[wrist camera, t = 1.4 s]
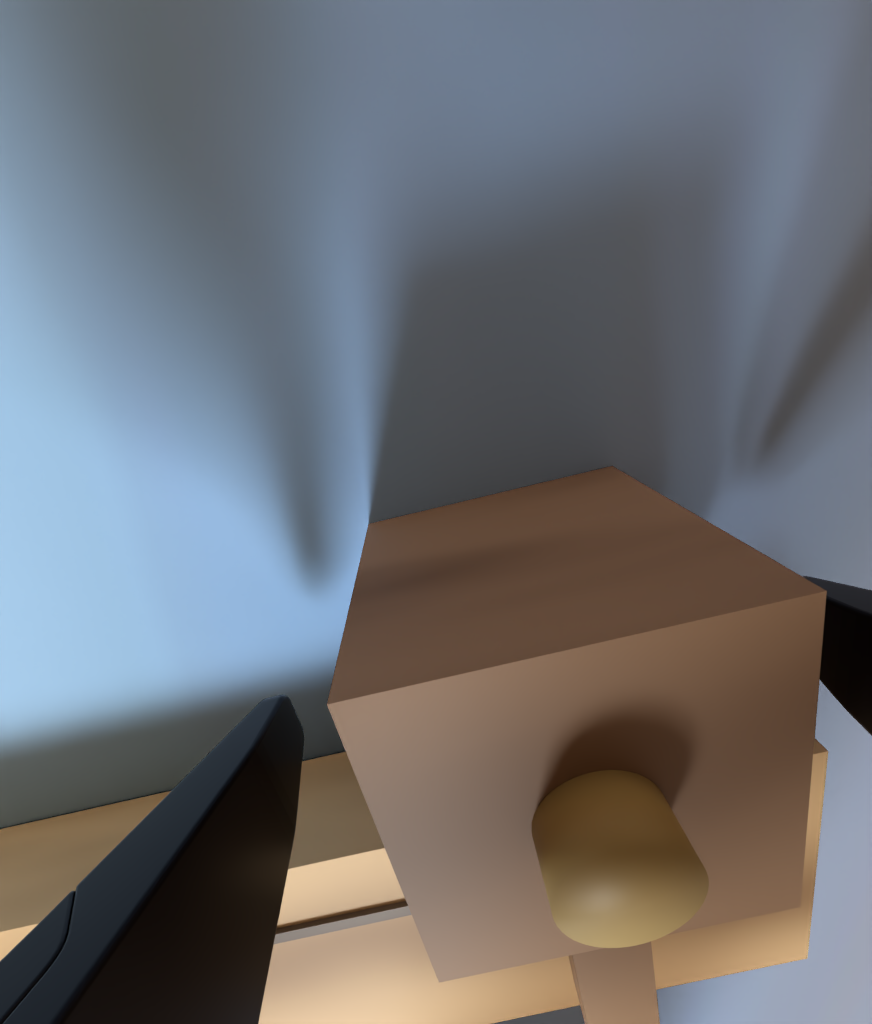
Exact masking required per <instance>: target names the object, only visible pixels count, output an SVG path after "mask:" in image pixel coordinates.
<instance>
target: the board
mask: <svg viewBox="0 0 872 1024" xmlns="http://www.w3.org/2000/svg"><path fill="white" fill-rule="evenodd" d="M827 758H828V751H827V750H826V749H825V748H824V747H823V746H822V745H821V744H820V743H819V742H818V741H817V740H816V739H815V738H814V750H813V762H812V774H811V786H810V798H809V810H808V822H807V834H806V846H805V858H804V870H803V882H802V894H801V906H800V907H799V908H794V909H790V910H785V911H780V912H775V913H771V914H766V915H761V916H756V917H751V918H747V919H742V920H737V921H732V922H727V923H723V924H718V925H713V926H708V927H703V928H699V929H694V930H689V931H684V932H679V933H675V934H670V935H665V936H663V937H661V938H659V939H656V940H653V941H651V947H652V956H653V965H654V975H655V984H656V990H657V989H661V988H666V987H671V986H676V985H681V984H686V983H690V982H695V981H700V980H705V979H710V978H715V977H719V976H724V975H729V974H734V973H739V972H744V971H748V970H753V969H758V968H763V967H768V966H773V965H778V964H782V963H787V962H792V961H797V960H802V959H807V956H808V946H809V936H810V926H811V917H812V907H813V897H814V887H815V877H816V867H817V857H818V847H819V837H820V827H821V817H822V807H823V797H824V788H825V778H826V768H827ZM170 792H171V791H168V792H164V793H159V794H155V795H150V796H146V797H141V798H137V799H132V800H128V801H123V802H119V803H115V804H110V805H106V806H101V807H97V808H92V809H88V810H83V811H79V812H74V813H70V814H66V815H61V816H57V817H52V818H48V819H43V820H39V821H34V822H30V823H25V824H21V825H17V826H12V827H8V828H3V829H0V961H1V960H2V959H3V958H4V957H5V956H6V955H7V954H8V953H9V952H10V951H11V950H12V949H13V948H14V947H15V946H16V945H17V944H18V943H19V942H20V941H21V940H22V939H23V938H24V937H25V936H26V935H27V934H28V933H29V932H31V931H32V930H33V929H34V928H35V927H36V926H37V925H38V924H39V923H40V922H41V921H42V920H43V919H44V918H45V917H46V916H47V915H48V914H49V913H50V912H51V911H52V910H53V909H54V908H55V907H56V906H57V905H58V904H59V903H60V902H61V901H62V900H63V899H64V898H65V897H66V896H67V895H68V894H69V893H70V892H71V891H76V887H77V885H78V884H79V883H80V882H81V881H82V880H83V879H84V878H85V877H86V876H87V875H88V874H89V873H90V872H91V871H92V870H93V869H94V868H95V867H96V866H97V865H98V864H99V863H100V862H101V861H102V860H103V859H104V858H105V857H106V856H107V855H108V854H109V853H110V852H111V851H112V850H113V849H114V848H115V847H116V846H117V845H118V844H119V843H120V842H121V841H122V840H123V839H124V838H125V837H126V836H127V835H128V834H129V833H130V832H131V831H132V830H133V829H134V828H135V827H136V826H137V825H138V824H139V823H140V822H141V821H142V820H143V819H144V818H145V817H146V816H147V815H148V814H149V813H150V812H151V811H152V810H153V809H154V808H155V807H156V806H157V805H158V804H159V803H160V802H161V801H162V800H163V799H164V798H165V797H166V796H167V795H168V794H169V793H170ZM579 1005H580V1003H579V999H578V995H577V991H576V987H575V983H574V979H573V974H572V970H571V965H570V961H569V956H564V957H560V958H555V959H550V960H545V961H540V962H536V963H531V964H526V965H521V966H517V967H512V968H507V969H502V970H497V971H493V972H488V973H483V974H478V975H473V976H469V977H464V978H459V979H454V980H449V981H445V982H440V983H439V981H438V979H437V976H436V974H435V971H434V969H433V966H432V964H431V961H430V959H429V956H428V954H427V952H426V949H425V947H424V944H423V942H422V939H421V937H420V934H419V932H418V929H417V927H416V924H415V922H414V919H413V917H412V914H411V912H410V909H409V907H408V904H407V902H406V900H405V897H404V895H403V892H402V890H401V887H400V885H399V882H398V880H397V877H396V875H395V872H394V870H393V867H392V865H391V862H390V860H389V857H388V855H387V852H386V850H385V847H384V845H383V843H382V840H381V838H380V835H379V833H378V830H377V828H376V825H375V823H374V820H373V818H372V815H371V813H370V810H369V808H368V805H367V803H366V800H365V798H364V795H363V793H362V791H361V788H360V786H359V783H358V781H357V778H356V776H355V773H354V771H353V768H352V766H351V763H350V761H349V758H348V756H347V753H346V752H342V753H337V754H333V755H328V756H324V757H319V758H315V759H310V760H306V761H302V768H301V779H300V790H299V801H298V812H297V821H296V829H295V835H294V841H293V847H292V852H291V857H290V863H289V868H288V873H287V878H286V883H285V888H284V894H283V899H282V904H281V909H280V914H279V919H278V925H277V930H276V935H275V940H274V945H273V951H272V956H271V961H270V966H269V971H268V976H267V982H266V987H265V992H264V997H263V1002H262V1007H261V1013H260V1018H259V1023H258V1024H492V1023H497V1022H502V1021H506V1020H511V1019H516V1018H521V1017H526V1016H531V1015H535V1014H540V1013H545V1012H550V1011H555V1010H560V1009H565V1008H569V1007H574V1006H579Z"/></svg>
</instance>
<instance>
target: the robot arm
mask: <svg viewBox="0 0 872 1024" xmlns="http://www.w3.org/2000/svg"><path fill="white" fill-rule="evenodd" d="M802 577H804V578H805V579H807V580H809V581H810V582H812V583H814V584H816V585H817V586H819V587H821V588H822V589H824V590H826V591H827V594H826V606H825V618H824V630H823V642H822V654H821V666H820V678H819V679H820V680H821V681H822V683H823V684H824V685H825V686H826V687H827V689H828V690H829V691H830V692H831V693H832V694H833V696H834V697H835V698H836V699H837V700H838V701H839V702H840V703H841V705H842V706H843V707H844V708H845V709H846V710H847V711H848V712H849V713H850V714H851V715H852V716H853V717H854V718H855V719H856V720H857V721H858V722H859V723H860V724H861V725H862V726H863V727H864V728H865V729H866V730H867V731H868V732H869V733H870V734H871V735H872V590H867V589H863V588H858V587H854V586H849V585H845V584H840V583H836V582H831V581H826V580H822V579H817V578H813V577H808V576H802ZM303 746H304V733H303V728H302V726H301V723H300V721H299V719H298V717H297V714H296V712H295V710H294V707H293V705H292V703H291V701H290V699H289V698H288V697H287V696H286V695H279V696H275V697H270V698H266V699H264V700H262V701H261V702H260V703H259V704H258V705H257V706H256V707H255V708H254V709H253V710H252V711H251V712H250V713H249V714H248V715H247V716H246V717H245V718H244V719H243V720H242V721H241V722H240V723H239V724H238V725H237V726H236V727H235V728H234V729H233V730H232V731H231V732H230V733H229V734H228V735H227V736H226V737H225V738H224V739H223V740H222V741H221V742H220V743H219V744H218V745H217V746H216V747H215V748H214V749H213V750H212V751H211V752H210V753H209V754H208V755H207V756H206V757H205V758H204V759H203V760H202V761H201V762H200V763H199V764H198V765H197V766H196V767H195V768H194V769H193V770H192V771H191V772H190V773H189V774H188V775H187V776H186V777H185V778H184V779H183V780H182V781H181V782H180V783H179V784H178V785H177V786H176V787H175V788H174V789H173V790H172V791H171V792H170V793H169V794H168V795H167V796H166V797H165V798H164V799H163V800H162V801H161V802H160V803H159V804H158V805H157V806H156V807H155V808H154V809H153V810H152V811H151V812H150V813H149V814H148V815H147V816H146V817H145V818H144V819H143V820H142V821H141V822H140V823H139V824H138V825H137V826H136V827H135V828H134V829H133V830H132V831H131V832H130V833H129V834H128V835H127V836H126V837H125V838H124V839H123V840H122V841H121V842H120V843H119V844H118V845H117V846H116V847H115V848H114V849H113V850H112V851H111V852H110V853H109V854H108V855H107V856H106V857H105V858H104V859H103V860H102V861H101V862H100V863H99V864H98V865H97V866H96V867H95V868H94V869H93V870H92V871H91V872H90V873H89V874H88V875H87V876H86V877H85V878H84V879H83V880H82V881H81V882H80V883H79V884H78V885H77V887H76V891H71V892H70V893H69V894H68V895H67V896H66V897H65V898H64V899H63V900H62V901H61V902H60V903H59V904H58V905H57V906H56V907H55V908H54V909H53V910H52V911H51V912H50V913H49V914H48V915H47V916H46V917H45V918H44V919H43V920H42V921H41V922H40V923H39V924H38V925H37V926H36V927H35V928H34V929H33V930H32V931H31V932H29V933H28V934H27V935H26V936H25V937H24V938H23V939H22V940H21V941H20V942H19V943H18V944H17V945H16V946H15V947H14V948H13V949H12V950H11V951H10V952H9V953H8V954H7V955H6V956H5V957H4V958H3V959H2V960H1V961H0V1024H258V1023H259V1018H260V1013H261V1007H262V1002H263V997H264V992H265V987H266V982H267V976H268V971H269V966H270V961H271V956H272V951H273V945H274V940H275V935H276V930H277V925H278V919H279V914H280V909H281V904H282V899H283V894H284V888H285V883H286V878H287V873H288V868H289V863H290V857H291V852H292V847H293V841H294V835H295V829H296V821H297V812H298V801H299V790H300V779H301V768H302V757H303Z"/></svg>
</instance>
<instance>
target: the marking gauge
mask: <svg viewBox="0 0 872 1024" xmlns="http://www.w3.org/2000/svg"><path fill="white" fill-rule="evenodd" d="M826 594H827V591H826V590H824V589H822V588H821V587H819V586H817V585H816V584H814V583H812V582H810V581H809V580H807V579H805V578H804V577H802V576H800V575H798V574H797V573H795V572H793V571H792V570H790V569H788V568H786V567H785V566H783V565H781V564H780V563H778V562H776V561H774V560H773V559H771V558H769V557H768V556H766V555H764V554H762V553H761V552H759V551H757V550H756V549H754V548H752V547H750V546H749V545H747V544H745V543H744V542H742V541H740V540H738V539H737V538H735V537H733V536H732V535H730V534H728V533H726V532H725V531H723V530H721V529H720V528H718V527H716V526H714V525H713V524H711V523H709V522H708V521H706V520H704V519H702V518H701V517H699V516H697V515H696V514H694V513H692V512H690V511H689V510H687V509H685V508H684V507H682V506H680V505H679V504H677V503H675V502H673V501H672V500H670V499H668V498H667V497H665V496H663V495H661V494H660V493H658V492H656V491H655V490H653V489H651V488H649V487H648V486H646V485H644V484H643V483H641V482H639V481H637V480H636V479H634V478H632V477H631V476H629V475H627V474H625V473H624V472H622V471H620V470H619V469H617V468H615V467H613V466H610V467H605V468H601V469H597V470H593V471H589V472H584V473H580V474H576V475H572V476H568V477H563V478H559V479H555V480H551V481H547V482H542V483H538V484H534V485H530V486H526V487H521V488H517V489H513V490H509V491H505V492H500V493H496V494H492V495H488V496H484V497H479V498H475V499H471V500H467V501H463V502H458V503H454V504H450V505H446V506H442V507H437V508H433V509H429V510H425V511H421V512H416V513H412V514H408V515H404V516H400V517H395V518H391V519H387V520H383V521H379V522H374V523H370V524H368V529H367V533H366V537H365V542H364V546H363V550H362V555H361V559H360V563H359V568H358V572H357V576H356V581H355V585H354V589H353V594H352V598H351V602H350V607H349V611H348V615H347V620H346V624H345V628H344V633H343V637H342V641H341V645H340V650H339V654H338V658H337V663H336V667H335V671H334V676H333V680H332V684H331V689H330V693H329V697H328V702H327V706H328V709H329V711H330V714H331V716H332V719H333V721H334V724H335V726H336V729H337V731H338V734H339V736H340V738H341V741H342V743H343V746H344V748H345V751H346V753H347V756H348V758H349V761H350V763H351V766H352V768H353V771H354V773H355V776H356V778H357V781H358V783H359V786H360V788H361V791H362V793H363V795H364V798H365V800H366V803H367V805H368V808H369V810H370V813H371V815H372V818H373V820H374V823H375V825H376V828H377V830H378V833H379V835H380V838H381V840H382V843H383V845H384V847H385V850H386V852H387V855H388V857H389V860H390V862H391V865H392V867H393V870H394V872H395V875H396V877H397V880H398V882H399V885H400V887H401V890H402V892H403V895H404V897H405V900H406V902H407V904H408V907H409V909H410V912H411V914H412V917H413V919H414V922H415V924H416V927H417V929H418V932H419V934H420V937H421V939H422V942H423V944H424V947H425V949H426V952H427V954H428V956H429V959H430V961H431V964H432V966H433V969H434V971H435V974H436V976H437V979H438V981H439V983H440V982H445V981H449V980H454V979H459V978H464V977H469V976H473V975H478V974H483V973H488V972H493V971H497V970H502V969H507V968H512V967H517V966H521V965H526V964H531V963H536V962H540V961H545V960H550V959H555V958H560V957H564V956H569V961H570V965H571V970H572V974H573V979H574V983H575V987H576V991H577V995H578V999H579V1003H580V1007H581V1010H582V1014H583V1018H584V1022H585V1024H660V1021H659V1012H658V1003H657V993H656V984H655V975H654V965H653V956H652V947H651V941H653V940H656V939H659V938H661V937H663V936H665V935H670V934H675V933H679V932H684V931H689V930H694V929H699V928H703V927H708V926H713V925H718V924H723V923H727V922H732V921H737V920H742V919H747V918H751V917H756V916H761V915H766V914H771V913H775V912H780V911H785V910H790V909H794V908H799V907H800V906H801V894H802V882H803V870H804V858H805V846H806V834H807V822H808V810H809V798H810V786H811V774H812V762H813V750H814V738H815V726H816V714H817V702H818V690H819V678H820V666H821V654H822V642H823V630H824V618H825V606H826Z"/></svg>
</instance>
